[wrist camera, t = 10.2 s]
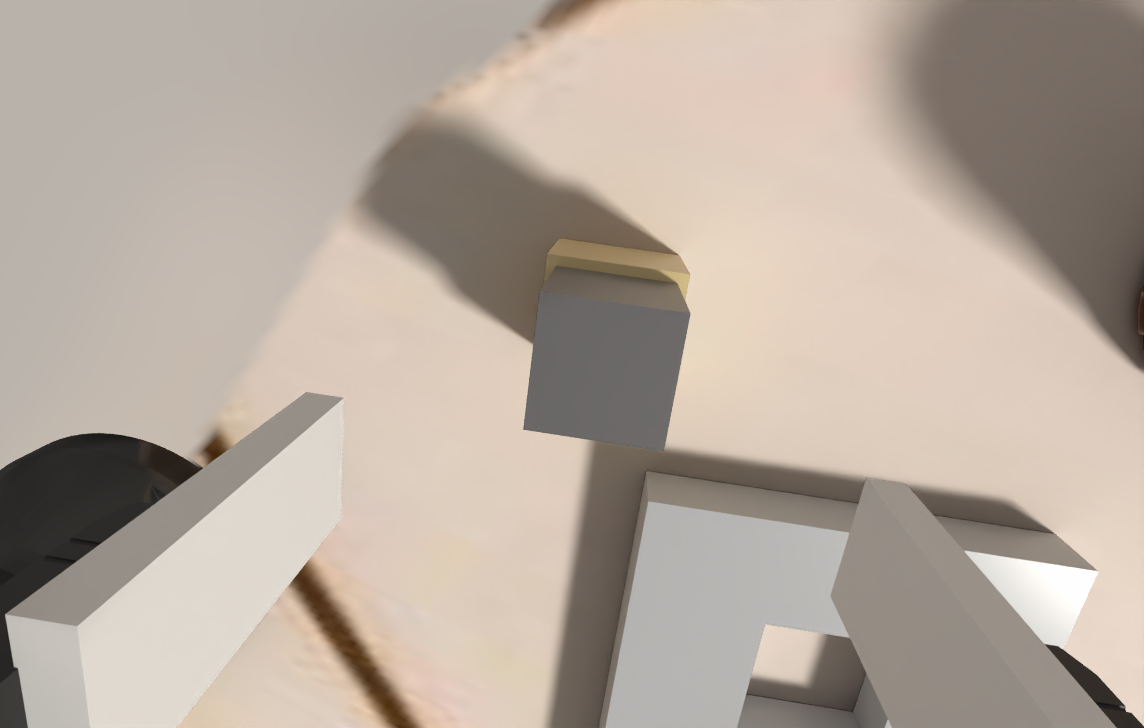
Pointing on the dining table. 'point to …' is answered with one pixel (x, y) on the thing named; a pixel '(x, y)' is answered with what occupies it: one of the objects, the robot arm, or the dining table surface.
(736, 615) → the socket
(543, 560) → the dining table surface
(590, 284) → the plug
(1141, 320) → the mug
